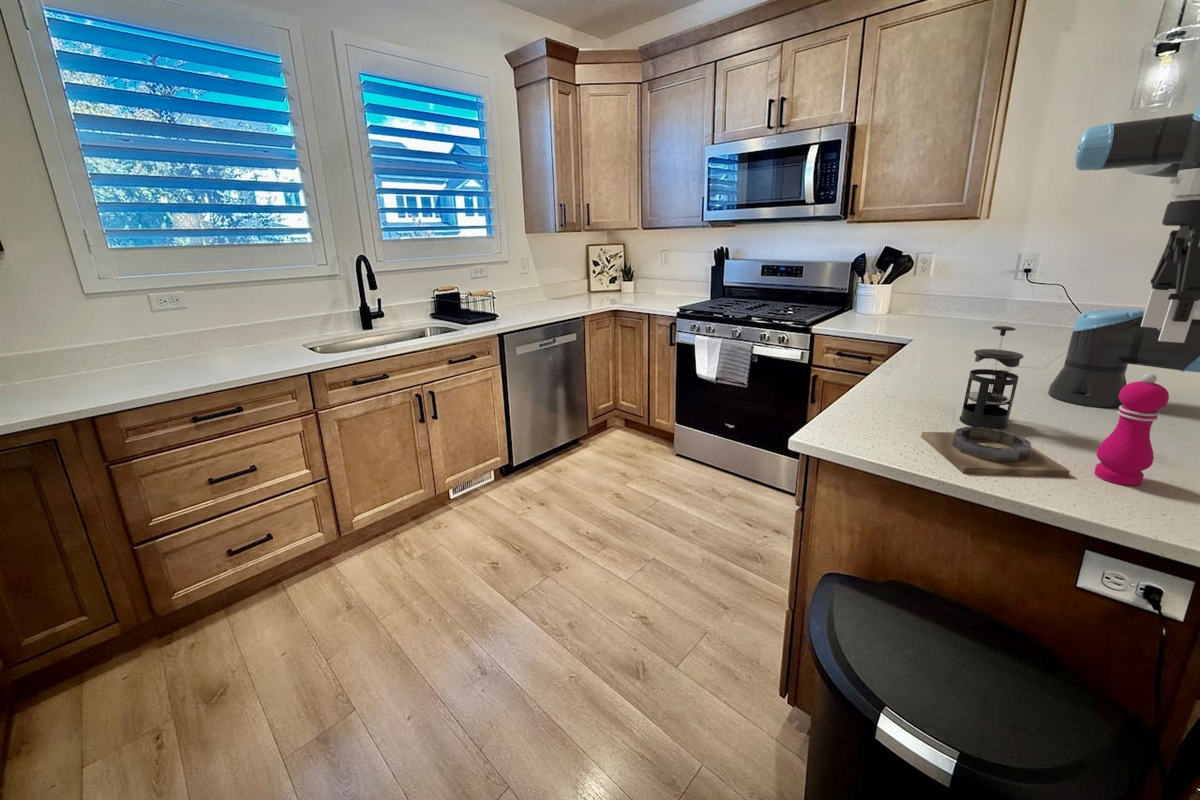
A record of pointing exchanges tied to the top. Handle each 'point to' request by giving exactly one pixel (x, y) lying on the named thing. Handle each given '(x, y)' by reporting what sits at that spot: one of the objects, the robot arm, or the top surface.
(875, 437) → the top surface
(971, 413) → the french press
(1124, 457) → the pepper mill
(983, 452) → the iron collar
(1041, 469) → the collar plate
